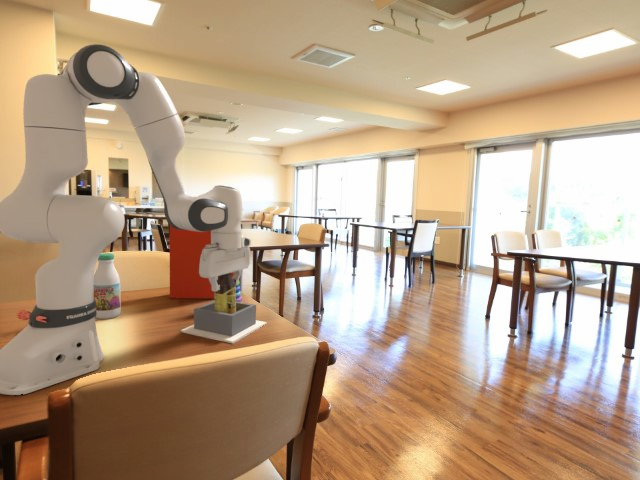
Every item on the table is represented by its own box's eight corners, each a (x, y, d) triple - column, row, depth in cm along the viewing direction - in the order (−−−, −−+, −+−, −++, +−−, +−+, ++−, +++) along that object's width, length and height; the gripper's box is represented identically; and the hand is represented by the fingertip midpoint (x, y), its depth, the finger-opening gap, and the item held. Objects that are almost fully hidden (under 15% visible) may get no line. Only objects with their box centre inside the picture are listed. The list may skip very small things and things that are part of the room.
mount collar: (232, 343, 105) (233, 320, 104) (181, 332, 112) (181, 310, 111) (266, 324, 121) (267, 303, 121) (219, 315, 128) (219, 295, 127)
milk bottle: (94, 313, 125) (92, 252, 122) (120, 311, 128) (119, 251, 126) (92, 320, 118) (90, 256, 115) (121, 318, 121) (119, 255, 119)
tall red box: (175, 293, 152) (174, 212, 148) (219, 293, 154) (220, 213, 151) (169, 298, 144) (169, 213, 140) (216, 299, 146) (217, 215, 143)
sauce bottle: (231, 329, 113) (229, 263, 110) (211, 328, 114) (208, 262, 111) (239, 322, 119) (238, 259, 117) (221, 320, 120) (218, 258, 118)
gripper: (212, 246, 103) (211, 296, 104) (254, 239, 121) (253, 282, 123) (193, 244, 105) (193, 293, 107) (237, 238, 124) (236, 280, 125)
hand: (225, 287), depth 115 cm, fingers open, 8 cm apart
